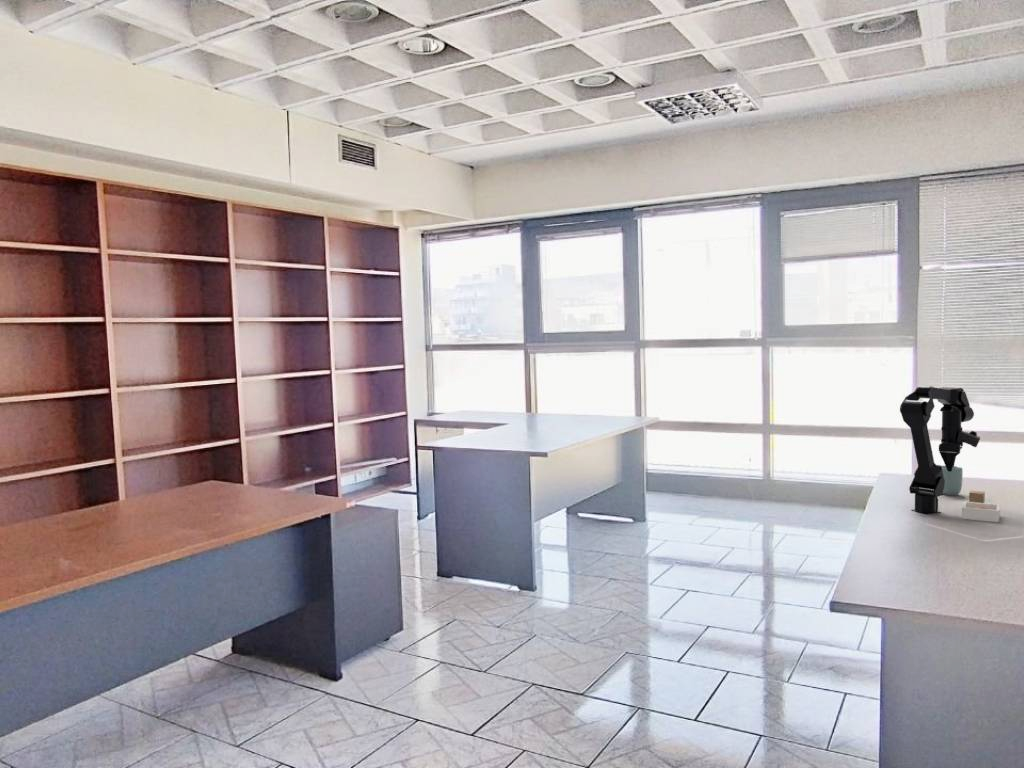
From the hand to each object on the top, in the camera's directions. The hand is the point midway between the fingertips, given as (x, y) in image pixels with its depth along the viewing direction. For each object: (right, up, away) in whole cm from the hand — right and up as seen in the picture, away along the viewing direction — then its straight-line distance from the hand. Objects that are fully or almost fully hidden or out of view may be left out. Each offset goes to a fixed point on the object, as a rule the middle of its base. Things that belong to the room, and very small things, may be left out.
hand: (950, 469), depth 268 cm
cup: (+10, -11, +18) cm, 23 cm away
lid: (+7, -13, -4) cm, 15 cm away
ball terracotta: (+1, -13, -17) cm, 21 cm away
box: (-1, -14, -18) cm, 23 cm away
